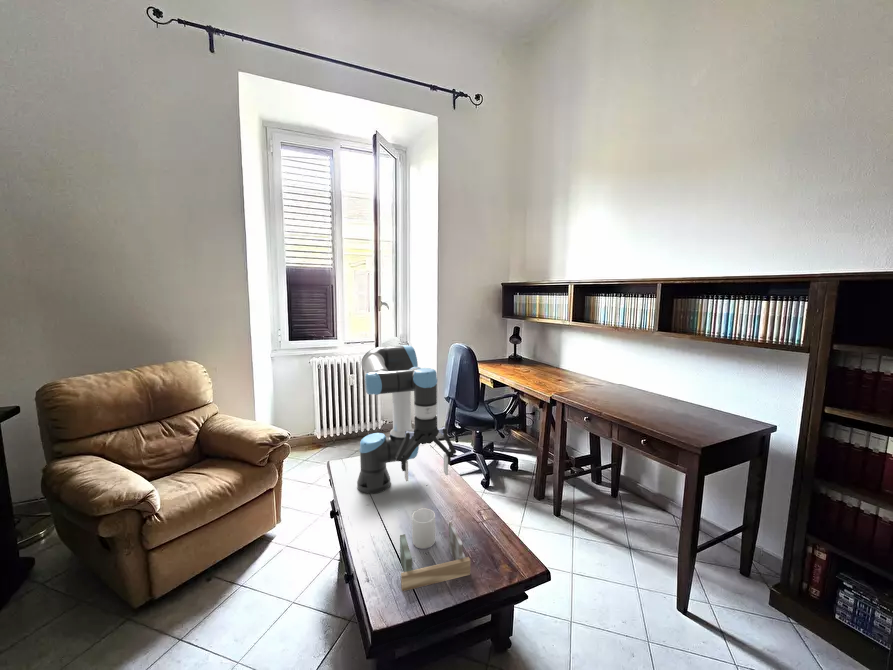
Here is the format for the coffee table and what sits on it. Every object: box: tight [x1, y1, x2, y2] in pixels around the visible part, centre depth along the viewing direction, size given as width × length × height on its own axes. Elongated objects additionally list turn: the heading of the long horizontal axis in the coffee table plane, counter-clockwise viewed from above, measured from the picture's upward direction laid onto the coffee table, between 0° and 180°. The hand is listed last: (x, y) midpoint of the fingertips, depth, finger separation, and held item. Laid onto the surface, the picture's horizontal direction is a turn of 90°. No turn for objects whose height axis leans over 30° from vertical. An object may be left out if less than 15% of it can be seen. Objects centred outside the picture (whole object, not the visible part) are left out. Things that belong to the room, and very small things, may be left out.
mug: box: [411, 508, 436, 550], centre depth 132 cm, size 12×8×10 cm
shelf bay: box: [399, 521, 471, 592], centre depth 118 cm, size 13×23×10 cm, turn 107°
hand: (426, 476), depth 122 cm, fingers open, 13 cm apart
